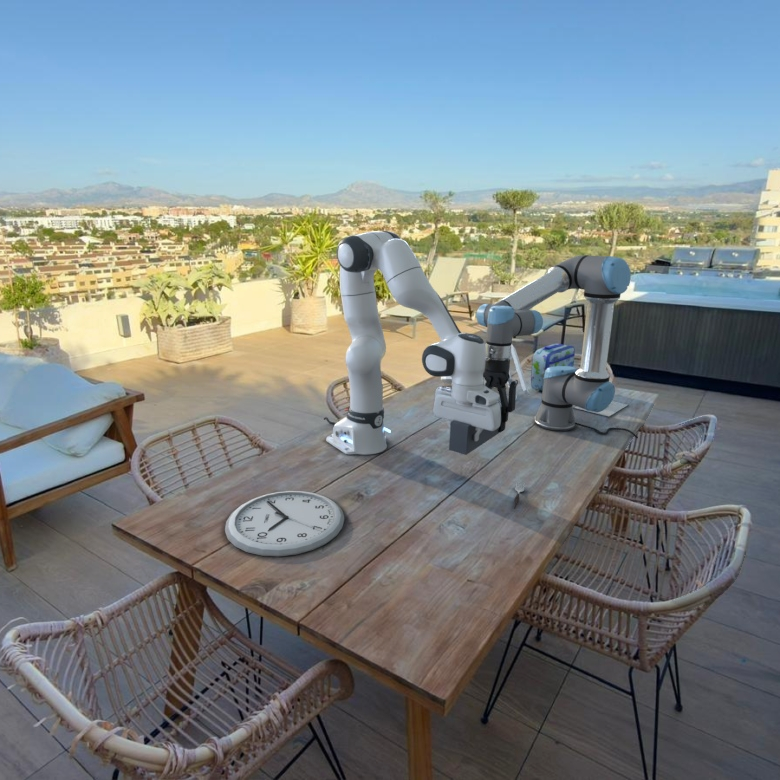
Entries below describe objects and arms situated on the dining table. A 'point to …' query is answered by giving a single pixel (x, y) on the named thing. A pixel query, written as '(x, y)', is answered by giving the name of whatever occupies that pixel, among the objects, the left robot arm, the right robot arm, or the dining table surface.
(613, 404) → the invitation card
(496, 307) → the right robot arm
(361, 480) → the dining table surface
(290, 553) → the wall clock
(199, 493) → the dining table surface
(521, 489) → the fork
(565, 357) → the lunch box
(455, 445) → the bar
